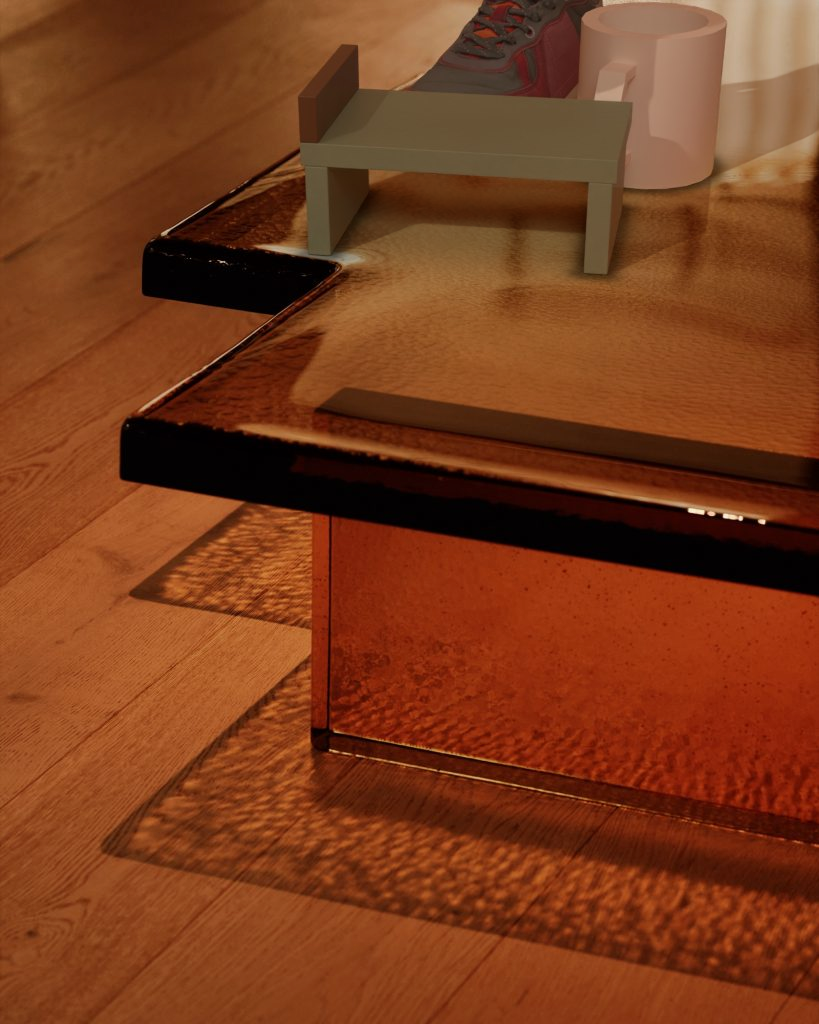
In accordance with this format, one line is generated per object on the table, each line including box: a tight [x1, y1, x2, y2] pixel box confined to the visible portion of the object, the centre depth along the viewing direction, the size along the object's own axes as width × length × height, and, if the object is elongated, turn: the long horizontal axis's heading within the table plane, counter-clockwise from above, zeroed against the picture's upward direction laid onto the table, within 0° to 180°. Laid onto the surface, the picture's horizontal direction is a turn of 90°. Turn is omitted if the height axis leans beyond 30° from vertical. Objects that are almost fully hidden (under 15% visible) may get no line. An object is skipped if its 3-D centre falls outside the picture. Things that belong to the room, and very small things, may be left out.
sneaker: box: [406, 0, 604, 99], centre depth 126 cm, size 10×28×12 cm, turn 153°
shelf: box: [297, 43, 633, 276], centre depth 105 cm, size 20×12×10 cm, turn 79°
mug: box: [578, 1, 728, 190], centre depth 115 cm, size 14×10×11 cm
